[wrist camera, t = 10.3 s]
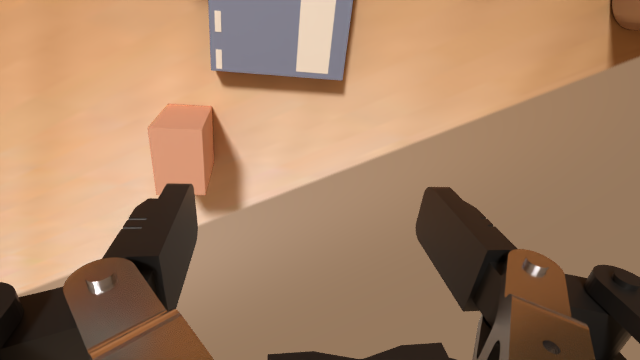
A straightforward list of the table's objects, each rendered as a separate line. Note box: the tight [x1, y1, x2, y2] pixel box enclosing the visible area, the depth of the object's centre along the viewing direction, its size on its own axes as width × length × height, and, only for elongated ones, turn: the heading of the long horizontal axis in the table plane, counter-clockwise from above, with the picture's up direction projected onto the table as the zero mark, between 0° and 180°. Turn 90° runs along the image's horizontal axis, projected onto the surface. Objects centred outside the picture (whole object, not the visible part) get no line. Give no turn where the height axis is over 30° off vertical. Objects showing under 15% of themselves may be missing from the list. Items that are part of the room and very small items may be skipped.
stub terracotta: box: [148, 104, 214, 195], centre depth 31 cm, size 4×6×7 cm, turn 174°
